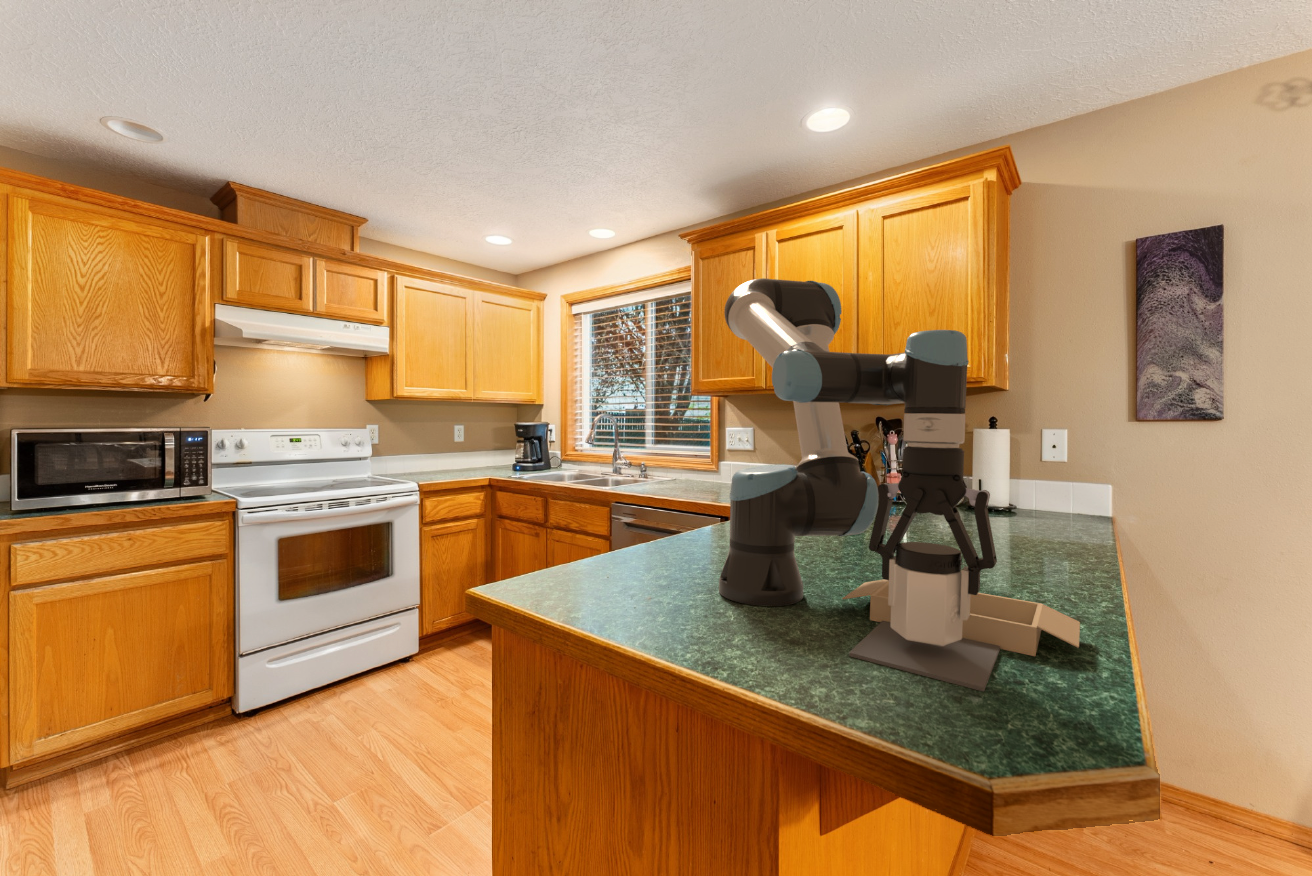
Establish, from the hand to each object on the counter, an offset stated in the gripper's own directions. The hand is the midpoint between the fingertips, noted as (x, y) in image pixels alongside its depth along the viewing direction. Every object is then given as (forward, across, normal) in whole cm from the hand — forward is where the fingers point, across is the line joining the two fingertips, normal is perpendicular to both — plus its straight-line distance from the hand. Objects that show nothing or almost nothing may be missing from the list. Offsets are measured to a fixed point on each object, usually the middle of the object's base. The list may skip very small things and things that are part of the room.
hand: (928, 609), depth 79 cm
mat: (+6, 0, 0) cm, 6 cm away
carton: (+6, +1, +15) cm, 16 cm away
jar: (+4, 0, 0) cm, 4 cm away
